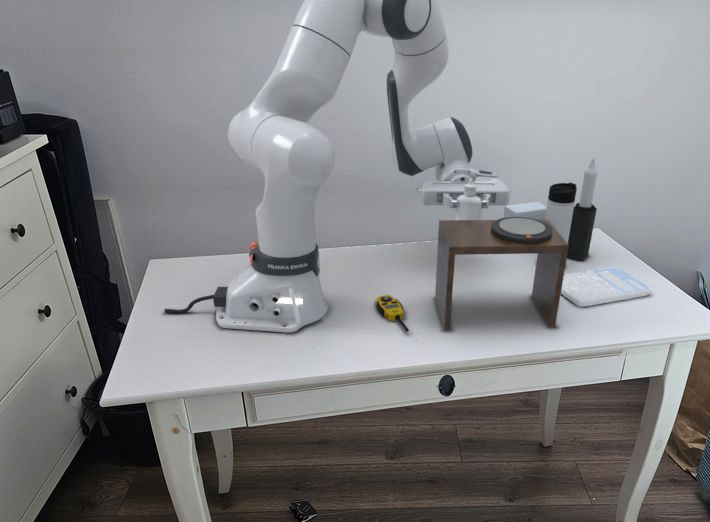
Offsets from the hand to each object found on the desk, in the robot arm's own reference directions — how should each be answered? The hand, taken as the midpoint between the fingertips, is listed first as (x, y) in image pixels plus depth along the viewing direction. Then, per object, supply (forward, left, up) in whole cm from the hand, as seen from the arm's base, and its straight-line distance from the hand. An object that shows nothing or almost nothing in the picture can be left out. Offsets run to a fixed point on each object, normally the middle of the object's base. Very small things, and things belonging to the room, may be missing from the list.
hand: (469, 205), depth 134 cm
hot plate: (+8, -15, -1) cm, 17 cm away
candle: (+32, +14, -19) cm, 39 cm away
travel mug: (+24, +9, -19) cm, 31 cm away
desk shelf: (+4, -15, -19) cm, 24 cm away
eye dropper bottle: (0, +1, -7) cm, 7 cm away
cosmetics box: (+20, +22, -19) cm, 35 cm away
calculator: (+31, -5, -19) cm, 36 cm away
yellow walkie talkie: (-17, -16, -19) cm, 30 cm away
